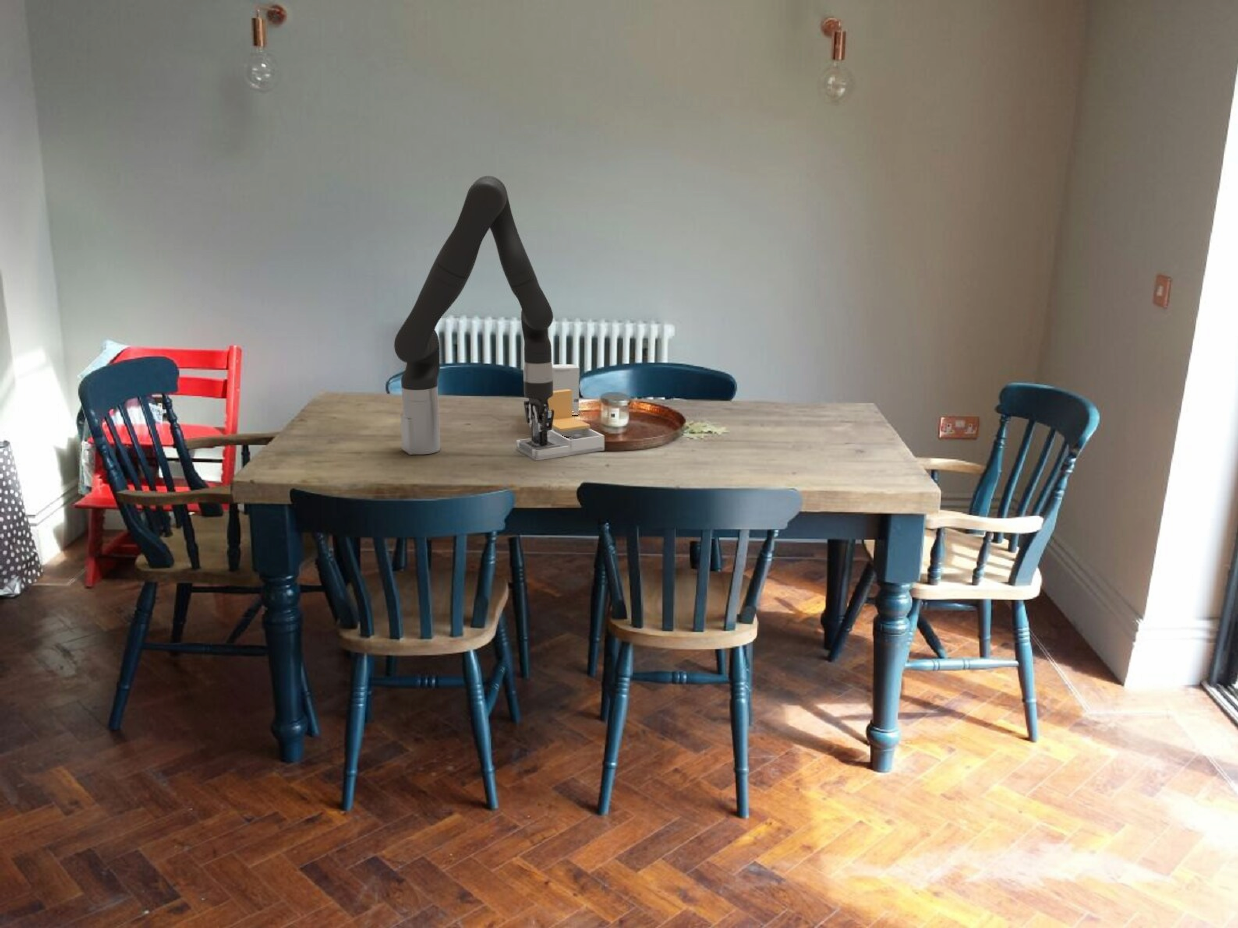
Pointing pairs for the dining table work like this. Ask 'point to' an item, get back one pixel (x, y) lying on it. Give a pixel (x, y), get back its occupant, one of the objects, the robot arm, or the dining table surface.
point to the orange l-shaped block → (564, 412)
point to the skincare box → (567, 381)
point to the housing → (563, 444)
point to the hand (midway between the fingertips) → (539, 442)
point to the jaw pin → (536, 434)
